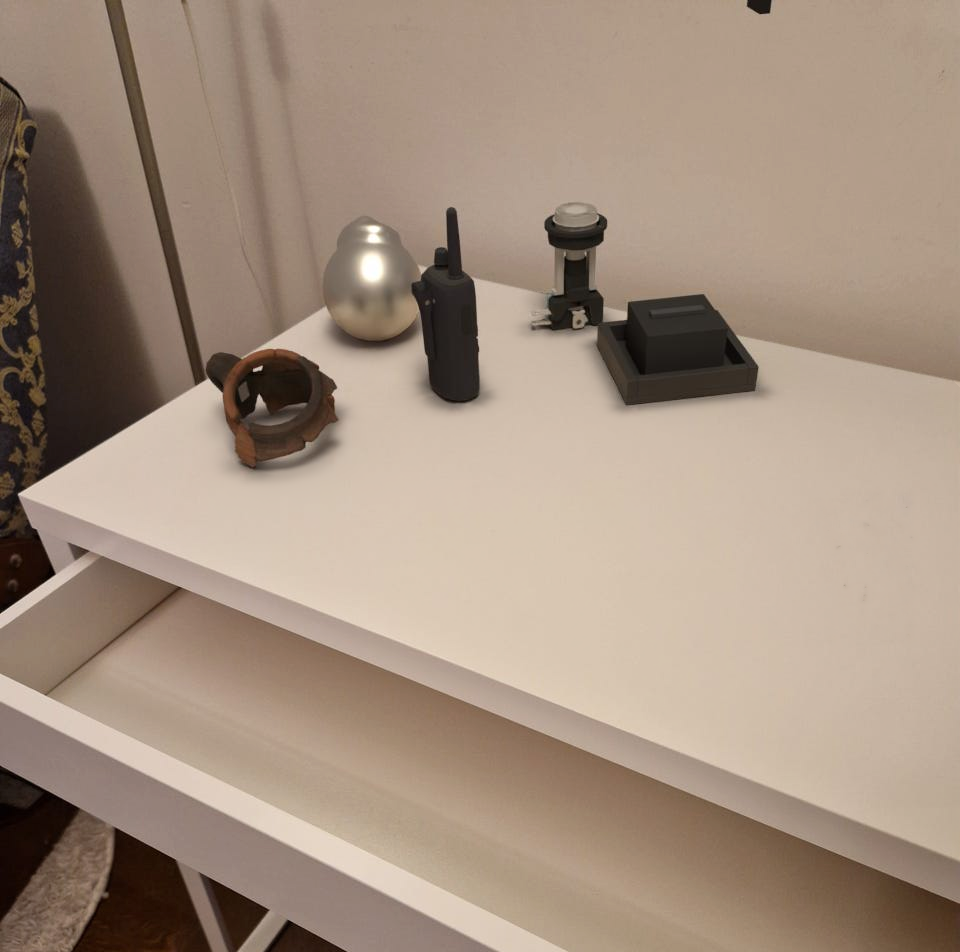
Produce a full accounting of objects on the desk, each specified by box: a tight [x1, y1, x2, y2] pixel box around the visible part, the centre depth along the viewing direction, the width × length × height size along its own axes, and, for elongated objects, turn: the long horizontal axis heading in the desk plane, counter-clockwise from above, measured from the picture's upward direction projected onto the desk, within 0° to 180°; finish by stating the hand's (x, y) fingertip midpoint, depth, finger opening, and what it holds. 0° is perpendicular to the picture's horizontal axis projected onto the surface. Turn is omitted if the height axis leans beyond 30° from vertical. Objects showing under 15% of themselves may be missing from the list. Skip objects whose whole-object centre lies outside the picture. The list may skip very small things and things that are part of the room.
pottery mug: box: [205, 348, 339, 468], centre depth 77 cm, size 12×10×8 cm
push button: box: [530, 201, 608, 331], centre depth 88 cm, size 7×5×10 cm
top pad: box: [626, 293, 728, 375], centre depth 82 cm, size 6×6×4 cm
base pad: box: [596, 309, 760, 406], centre depth 83 cm, size 11×11×2 cm
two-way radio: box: [411, 206, 481, 402], centre depth 78 cm, size 6×4×15 cm
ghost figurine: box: [321, 215, 422, 342], centre depth 88 cm, size 9×10×10 cm
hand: (851, 2), depth 71 cm, fingers open, 13 cm apart
